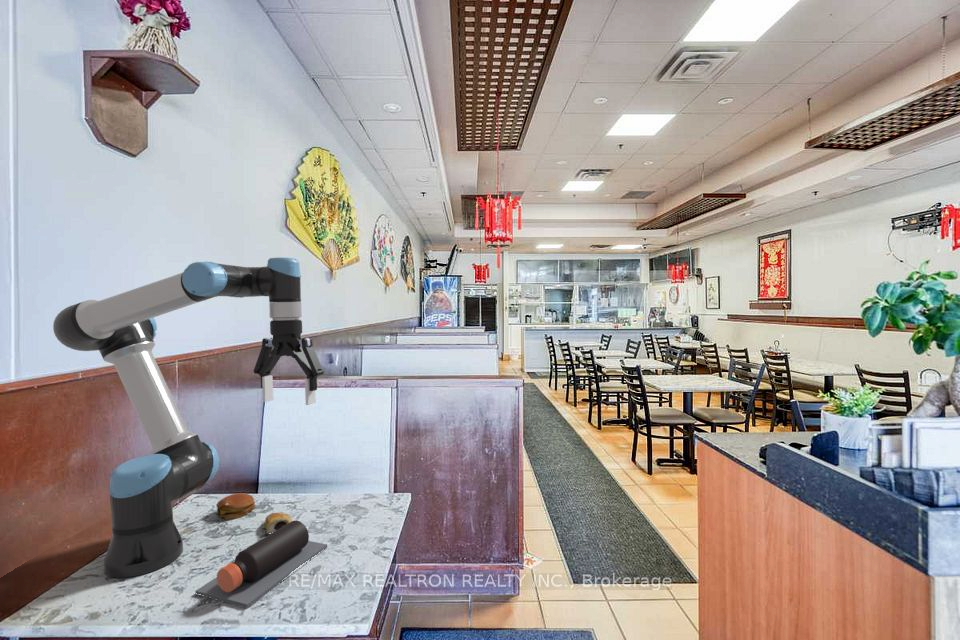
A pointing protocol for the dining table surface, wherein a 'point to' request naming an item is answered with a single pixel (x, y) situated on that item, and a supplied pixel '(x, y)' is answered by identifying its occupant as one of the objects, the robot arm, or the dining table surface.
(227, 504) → the burger
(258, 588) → the mat
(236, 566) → the vinegar
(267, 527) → the pastry
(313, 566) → the dining table surface
